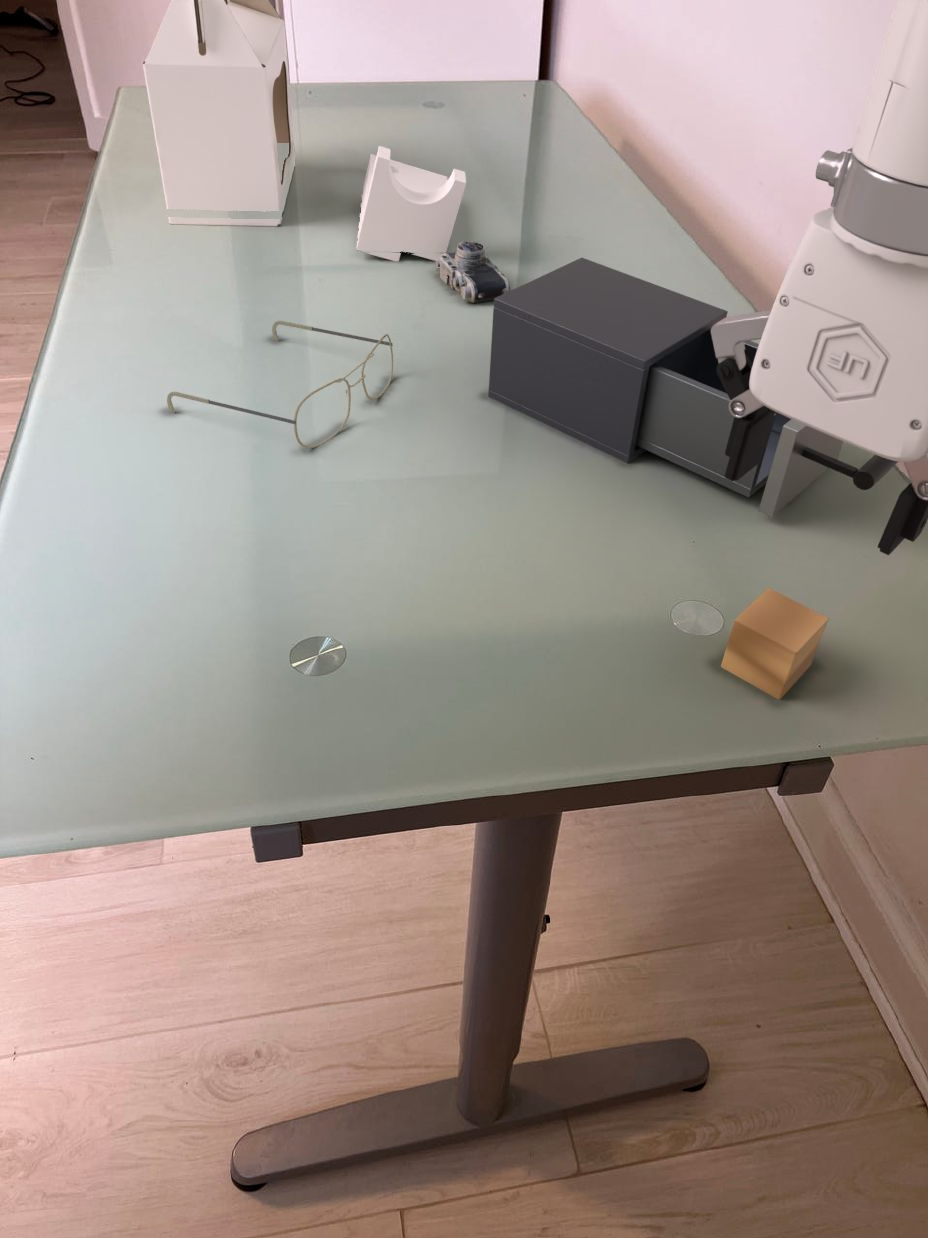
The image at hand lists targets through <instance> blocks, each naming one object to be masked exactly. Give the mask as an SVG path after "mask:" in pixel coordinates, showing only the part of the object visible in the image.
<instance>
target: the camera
mask: <svg viewBox="0 0 928 1238" xmlns="http://www.w3.org/2000/svg"><path fill="white" fill-rule="evenodd" d="M434 262H435V263H434V264H435V268H436V269H438V270H439V277H440V279H441V280H442V281H443V282H444V283H445V284H446V285H449V286H450V289H453V290H455V291H457V292H458V293H460V295H461V298H462V300H465V301H466V300H468V301H469V302H470V303H474V304H475V303H482V302H489V301H494V298H496V297H498V296H500V295H503V294H505V293H507V292H509V291H511V287H510V282H509V280H508V277H506V276H505V274H504V273H502V272H501V271H500V270H499V269H498V266H497V265H495V264H494V263H493V262H492V261H491V259H489V256H488V254H487V252H486V248H485V246H484V245H483V244H482V243H478V242H475V241H473V240H471V241H470V240H466V241H461V242H459V243H457V246H456V251H452V252H446V253H444V254H442V256H441V257H440V258H439V260H438V261H434ZM436 266H437V267H440V268H437V267H436ZM444 274H445V275H446V276H447V277H448V278H447V277H446V276H445V275H444Z"/></svg>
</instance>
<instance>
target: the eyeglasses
mask: <svg viewBox="0 0 928 1238" xmlns="http://www.w3.org/2000/svg"><path fill="white" fill-rule="evenodd" d="M279 325H282V326H286V327H290V328H296V329H302V330H306V331H311V332H318V333H323V334H328V335H332V336H337V337H343V338H348V339H353V340H358V341H363V342H369V343H372V344H373V343H374V344H375V345H374V346H373V348H372V349H371V350H370V351H369V353H368V354H367V356H365V359H364V361H362V362H361V363H360V364H358V366H356V367H355V368H353V369H352V370H351V371H350V372H349V373H347V374H346V375H345V376H343V377H342V378H341V377H340V378H337V379H334V380H332V381H329V382H328V383H326V384H323V386H320V387H318V388H316V389H315V390H313V391H312V392H310V393H308V394H307V395H306V396H305V397H304V398H303V399H302V400H301V401H299V404H298V405H297V407H296V409H295V413H294V417H293V419H289V418H285V417H281V416H277V415H273V414H269V413H264V412H261V411H257V410H252V409H248V408H244V407H239V406H235V405H231V404H227V403H222V402H218V401H215V400H210V399H208V398H204V397H200V396H196V395H193V394H187V393H183V392H178V391H170V392H169V393H168V394H167V398H166V404H167V409H168V412H169V413H170V414H175V413H176V410H175V408H174V404H173V401H172V399H173V397H179V398H183V399H187V400H191V401H195V402H200V403H204V404H207V405H213V406H217V407H221V408H225V409H230V410H234V411H238V412H243V413H246V414H250V415H255V416H259V417H263V418H268V419H270V420H275V421H279V422H284V423H288V424H292V425H293V429H294V436H295V439H296V441H297V443H298V444H299V445H300V446H302V448H305V449H315V448H317V447H319V446H321V445H323V444H325V443H327V442H328V441H329V440H332V439H333V438H334V437H336V436H337V435H338V434H339V433H340V432H341V431H342V429H343V428H344V427H345V425H346V424H347V421H348V420H349V417H350V413H351V399H352V398H351V397H352V395H351V394H352V393H351V388H353V387H356V386H357V384H359V383H361V384H362V387H363V391H364V394H365V396H366V398H367V399H368V400H371V401H374V400H377V399H379V398H381V397H382V396H383V395H384V394H385V392H386V391H387V390H388V388H389V386H390V384H391V382H392V377H393V372H394V352H393V351H394V350H393V342H392V340H391V337H390V335H389V334H388V333H385V334H383V335H382V337H381V338H380V339H374V338H369V337H366V336H359V335H354V334H349V333H344V332H340V331H339V332H338V331H335V330H328V329H323V328H319V327H313V326H311V325H306V324H301V323H295V322H290V321H284V320H276V321H275V322H274V323H273V324H272V327H271V333H272V340H273V341H275V342H279V335H278V332H277V327H278V326H279ZM386 337H387V339H388V341H384V339H385V338H386ZM379 345H384V346H389V349H390V357H391V358H390V360H391V361H390V362H391V363H390V374H389V379H388V382H387V385H386V387H384V389H383V391H382V392H381V393H380V394H379V395H377V396H374V397H371V396H370V395H369V393H368V391H367V388H366V384H365V378H366V377H367V375H366V374H364V371H365V366H366V364H367V362H368V361H369V360H370V359H371V358H372V357H374V356H375V353H374V351H375V350H377V348H378V346H379ZM360 367H361V372H360V373H361V374H360V375H361V377H358V380H357V381H356V382H355V383H353V384H352V385H350V382H349V381H348V379H346V378H347V377H349V376H350V375H351V374H353V373H354V372H355V371H356V370H358V369H360ZM343 381H344V382H345V384H346V387H347V388H345V394H347V397H348V399H347V400H348V401H347V402H348V404H347V413H346V416H345V419H344V420H343V422H342V424H341V425H340V427H339V428H338V430H336V431H335V432H334V433H333V434H331V436H329V437H328V438H325V440H323V441H321V442H320V443H318V444H314V445H306V444H304V443H303V442H302V441H301V440H300V437H299V434H298V426H297V425H298V424H297V423H298V421H297V420H298V414H299V411H300V408H301V407H302V405H303V404H304V402H306V400H308V399H309V398H310V397H311V396H313V395H314V394H316V393H318V392H320V391H322V390H323V389H326V388H327V387H329V386H331V385H333V384H335V383H338V384H339V383H341V382H343Z"/></svg>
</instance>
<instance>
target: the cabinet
mask: <svg viewBox="0 0 928 1238" xmlns="http://www.w3.org/2000/svg"><path fill="white" fill-rule="evenodd" d="M492 308H493V310H492V324H491V325H492V327H491V328H492V329H491V346H490V360H489V361H490V362H489V379H488V380H489V381H488V398H490V399H491V400H493V401H497V402H498V403H499V404H503V405H504V406H506V407H508V408H511V409H512V410H515V411H516V412H519V413H521V414H523V415H526V416H528V417H530V418H531V419H534V420H535V421H538V422H540V423H543V424H544V425H546V426H548V427H550V428H553V429H555V430H557V431H559V432H561V433H563V434H565V435H567V436H569V437H572V438H573V439H576V440H577V441H580V442H581V443H584V444H586V445H588V446H590V447H592V448H595V449H596V450H598V451H600V452H602V453H604V454H607V455H609V456H611V457H613V458H615V459H617V460H619V461H622V462H623V463H626V464H629V463H631V462H632V461H633V460H636V458H638V457H639V456H641V455H642V454H644V453H645V452H646V451H647V450H645V449H643V448H641V447H639V446H637V445H635V444H636V439H637V433H638V428H639V422H640V416H641V411H642V405H643V400H644V394H645V388H646V383H647V377H648V372H649V366H651V365H653V364H654V363H656V362H657V361H659V360H661V359H662V358H664V357H666V356H667V355H669V354H670V353H672V352H674V351H675V350H677V349H679V348H680V347H682V346H684V345H685V344H687V343H688V342H690V341H692V340H693V339H695V338H697V337H698V336H700V335H701V334H703V333H705V332H706V331H708V330H710V329H711V328H712V326H713V325H714V324H716V323H717V322H719V321H721V320H722V319H724V318H726V317H728V310H726V309H723V308H720V307H717V306H715V305H713V304H710V303H706V302H704V301H701V300H698V299H695V298H694V297H690V296H687V295H685V294H682V293H679V292H677V291H674V290H672V289H668V288H666V287H664V286H662V285H661V286H660V285H658V284H655V283H652V282H649V281H647V280H644V279H641V278H638V277H636V276H634V275H630V274H628V273H625V272H622V271H619V270H617V269H614V268H612V267H609V266H606V265H603V264H601V263H598V262H595V261H592V260H590V259H588V258H584V257H580V258H578V259H575V260H573V261H571V262H569V263H567V264H565V265H562V266H560V267H558V268H556V269H554V270H552V271H550V272H548V273H545V274H544V275H543V274H542V275H541V276H539V277H537V278H535V279H533V280H530V281H528V282H526V283H524V284H522V285H520V286H518V287H515V288H513V289H512V290H511V289H510V291H509V292H507V293H505V294H503V295H500V296H498V297H496V298H494V300H493V307H492Z"/></svg>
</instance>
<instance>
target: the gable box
mask: <svg viewBox="0 0 928 1238" xmlns="http://www.w3.org/2000/svg"><path fill="white" fill-rule="evenodd" d="M142 68H143V74H144V80H145V81H144V82H145V85H146V93H147V98H148V103H149V110H150V115H151V122H152V127H153V134H154V135H153V136H154V140H155V146H156V152H157V158H158V165H159V171H160V177H161V183H162V188H163V194H164V199H165V205H166V206H165V207H166V210H167V209H175V210H176V209H184V210H186V209H187V210H189V209H191V210H193V209H195V210H214V211H217V210H219V211H221V210H222V211H233V210H234V211H236V210H237V211H261V212H262V211H263V212H266V211H269V212H270V211H279V209H280V206H281V200H282V196H283V191H284V186H285V182H286V177H287V174H288V170H289V165H290V160H291V155H292V150H293V145H294V146H295V138H294V124H293V113H292V112H293V111H292V99H291V86H290V74H289V61H288V48H287V34H286V23H285V20H284V19H282V17H281V15H279V13H278V11H277V9H276V8H275V7H274V5H273V4H272V2H271V1H270V0H170V2H169V4H168V7H167V9H166V11H165V14H164V16H163V19H162V21H161V23H160V26H159V28H158V31H157V33H156V35H155V37H154V40H153V42H152V45H151V47H150V49H149V52H148V54H147V56H146V58H145V59H144V61H143V63H142ZM277 143H289V154H288V157H287V158H285V160H284V164H283V170H282V180H281V181H280V171H279V158H278V148H277ZM167 218H168V223H169V224H170V225H179V226H180V225H184V226H228V227H229V226H231V227H232V226H233V227H234V226H236V227H280V226H281V225H282V222H283V221H282V220H283V217H281V218H280V219H231V218H182V217H168V216H167Z"/></svg>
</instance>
